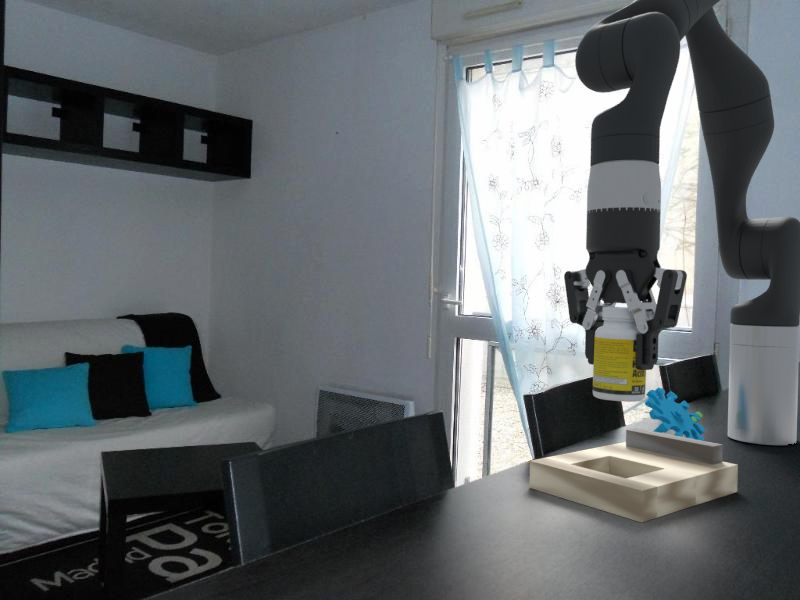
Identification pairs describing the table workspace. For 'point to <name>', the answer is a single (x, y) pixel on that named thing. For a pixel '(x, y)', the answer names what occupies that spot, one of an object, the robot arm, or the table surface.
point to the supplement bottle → (617, 358)
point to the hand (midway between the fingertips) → (619, 366)
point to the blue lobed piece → (674, 415)
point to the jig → (639, 475)
